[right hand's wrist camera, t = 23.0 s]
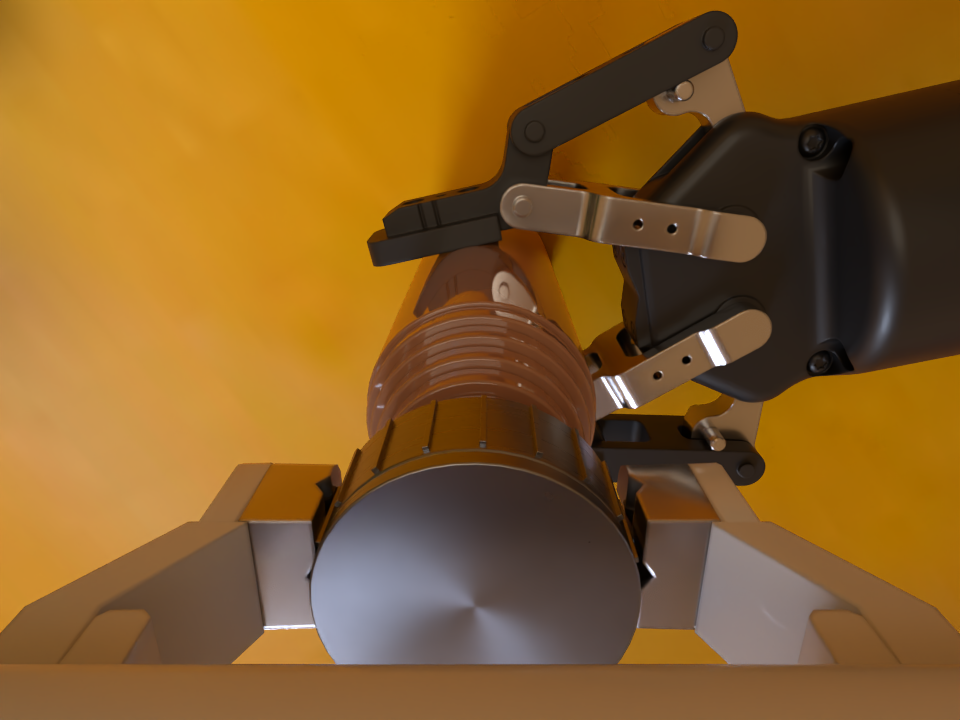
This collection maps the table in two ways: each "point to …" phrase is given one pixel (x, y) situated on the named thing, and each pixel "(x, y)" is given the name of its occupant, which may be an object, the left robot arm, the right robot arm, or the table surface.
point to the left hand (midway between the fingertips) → (400, 335)
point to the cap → (475, 544)
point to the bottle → (485, 337)
